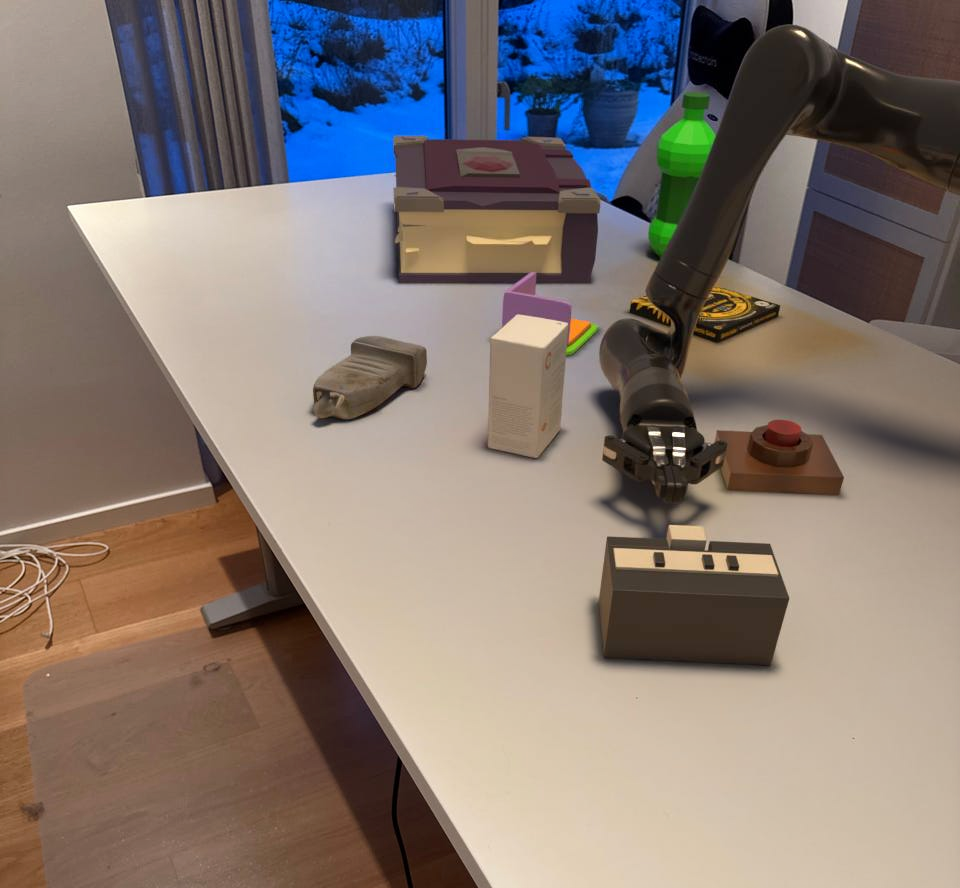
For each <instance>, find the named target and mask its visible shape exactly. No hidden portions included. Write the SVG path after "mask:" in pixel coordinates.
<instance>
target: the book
mask: <svg viewBox="0 0 960 888" xmlns="http://www.w3.org/2000/svg"><path fill="white" fill-rule="evenodd" d="M393 156H394V159H395V174H394V175H393V176H394V177H395V185H396V186H394V187H393V212H394V213H396V228H397V234H396V236H395V239H394V243H395V244H397V265H398V266H397V267H398V268H397V269H398V284H515V283H517V282H518V281H520V280H521V279H522V278H524V277H525V276H527V275H528V274H529V273H531V272H535V273H536V284H591V278H592V272H593V269H594V265H595V262H596V254H597V244H598V233H599V220H598V219H599V218H598V214H600V211H601V198H600V196H599V195H598V194H597V192H596V191H595V189H594V187H592V184H591V180H590V179H589V178H587V176H586V175H585V172H584V170H583V168H582V167H581V165H579V163H578V162H577V161H576V159H575V158H574V154H573V153H572V152H571V150H568V149H567V146H566V144H565V142H564V140H563V139H562V138H560V137H548V136H547V137H546V136H525V137H521V138H520V139H453V138H451V139H450V138H447V139H446V138H442V139H441V138H439V139H438V138H429V136H426V135H395V136H394V137H393Z"/></svg>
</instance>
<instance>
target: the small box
mask: <svg viewBox="0 0 960 888" xmlns="http://www.w3.org/2000/svg"><path fill="white" fill-rule="evenodd" d="M567 337H568V323H565V322H561V321H556V320H550V319H544V318H538V317H532V316H525V315H518V314H517V315H516V316H515V317H514V318H512V319H511V320H510V321H509V322H508V323H507V324H506V325H505V326H503V327H502V326H501V328H500V329H499V330H497V332H496V333H494V334H492V336H491V337H489V377H488V378H489V379H488V380H489V381H488V415H487V416H488V417H487V418H488V420H487V448H488V449H491V450H497V451H502V452H504V453H505V452H506V453H510V454H515V455H519V456H523V457H529V458H533V459H538V458H539V457H540V456H541V454H542V453H543V452H544V451H545V449H546V448H547V447H548V445H550V443H551V442H552V441H553V439H554V438H555V437H556V436H557V435H558V433H559V432H560V431H561V425H562V413H563V396H564V384H565V372H566V362H567V355H566V350H567Z"/></svg>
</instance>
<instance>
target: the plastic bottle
mask: <svg viewBox="0 0 960 888" xmlns="http://www.w3.org/2000/svg"><path fill="white" fill-rule="evenodd" d="M710 97H711V95H710V94H709V93H705V92H695V91H694V92H693V91H692V92H691V91H689V92H683V95H682V100H681V101H682V102H681V108H683V109H684V110H683V117H682V118H681V119H680V120H679V121H677V122H676V123H675V124H673V125H672V126H671V127H669V128H668V129H667V130H666V131H665V132H664V133H662V135H661V136H660V138H659V140H658V143H657V149H656V162H657V166H658V168H659V169H660V171H661V176H660V183H659V192H658V199H657V204H656V205H657V207H656V214H655V216H654V217H653V219H652V220H651V222H650V224H649V227H648V241H649V246H650V247H651V250H652V251H653V252H654V253H655V255H657V257H658V258H659V259H660V258H661V256H662V254H663V252H664V250H665V249H666V247H667V245H668V243H669V241H670V239H671V237H672V235H673V233H674V231H675V229H676V227H677V225H678V223H679V221H680V219H681V217H682V215H683V213H684V211H685V209H686V207H687V205H688V202H689V200H690V198H691V196H692V193H693V191H694V189H695V187H696V184H697V182H698V180H699V177H700V175H701V172H702V170H703V168H704V165H705V162H706V160H707V157H708V155H709V152H710V150H711V147H712V144H713V142H714V139H715V137H716V133H715V132H714V131H713V129H712V128H711V126H709V124H708V123H707V122H706V121H705V119H704V116H705V111H706V110H708V109H709V105H710Z"/></svg>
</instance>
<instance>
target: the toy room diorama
mask: <svg viewBox="0 0 960 888" xmlns="http://www.w3.org/2000/svg"><path fill="white" fill-rule="evenodd" d="M536 285H537V283H536V273H535V272H531V273H529V274H528V275H527V276H525V277H524V278H522V279H521V280H520V281H518V282H517V283H513V285H511V286H510V287H508V288H507V289H506V290H504V292H503V293H504V294H503V298H502V314H501V315H502V316H501V317H502V319H501V328H502V327H503V326H505V325H506V324H507V323H508V322H509V321H510V320H511V319H512V318H514V317H515V316H516V315H517V314H518V315H525V316H532V317H538V318H544V319H550V320H556V321H561V322H565V323H568V337H567V350H566V356H571V355H573V354H575V353H576V352H577V351H578V350H580V348H581V347H582V346H583V345H584V344H586V342H587V341H589V340H590V338H592V337H593V336H594V335H595V334H596V333H597V331H598V330H599V326H598V324H596V323H592V322H591V321H588V320H583V319H576V318H572V307H573V306H572V304H571V302H569V301H567V300H561V299H557V298H552V297H551V298H550V297H546V296H541V295H536V287H537V286H536Z"/></svg>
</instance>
